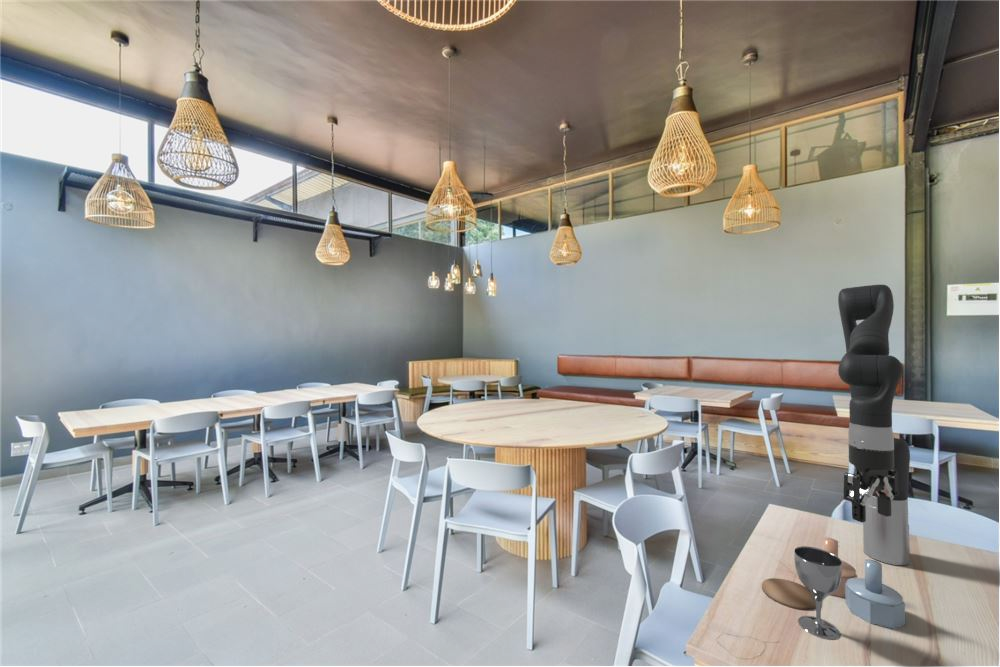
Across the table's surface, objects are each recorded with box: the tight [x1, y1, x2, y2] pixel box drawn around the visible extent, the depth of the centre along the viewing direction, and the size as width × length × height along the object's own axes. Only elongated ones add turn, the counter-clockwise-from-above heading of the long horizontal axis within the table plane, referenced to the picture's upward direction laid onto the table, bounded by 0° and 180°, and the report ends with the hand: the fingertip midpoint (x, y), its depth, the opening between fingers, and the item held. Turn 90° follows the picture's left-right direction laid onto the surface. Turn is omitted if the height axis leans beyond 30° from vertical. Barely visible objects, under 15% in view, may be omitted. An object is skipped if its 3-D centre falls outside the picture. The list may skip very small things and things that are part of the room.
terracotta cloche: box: [823, 537, 858, 599], centre depth 101 cm, size 9×9×11 cm
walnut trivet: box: [761, 577, 816, 611], centre depth 98 cm, size 11×11×1 cm
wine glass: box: [794, 546, 843, 640], centre depth 87 cm, size 8×8×15 cm
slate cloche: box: [845, 558, 906, 630], centre depth 91 cm, size 9×9×11 cm
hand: (871, 518), depth 91 cm, fingers open, 8 cm apart
